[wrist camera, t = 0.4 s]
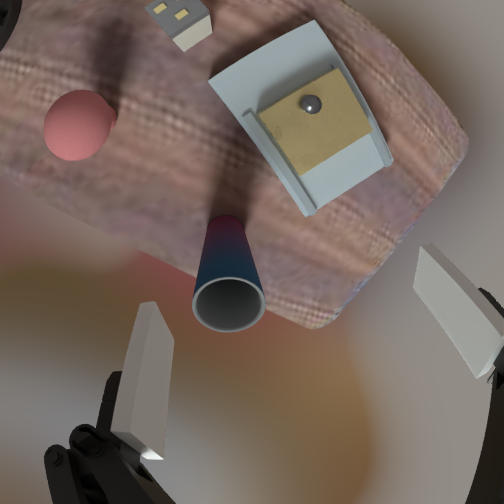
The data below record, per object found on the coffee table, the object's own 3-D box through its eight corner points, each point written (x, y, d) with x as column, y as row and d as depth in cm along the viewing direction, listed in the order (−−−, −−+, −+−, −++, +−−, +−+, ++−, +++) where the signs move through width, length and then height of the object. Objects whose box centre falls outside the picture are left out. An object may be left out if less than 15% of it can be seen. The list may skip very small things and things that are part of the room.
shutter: (255, 113, 29) (259, 115, 26) (330, 69, 27) (342, 67, 24) (294, 170, 33) (302, 179, 30) (363, 127, 30) (378, 132, 27)
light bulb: (124, 79, 28) (81, 76, 17) (140, 131, 31) (105, 151, 21) (76, 102, 28) (22, 113, 18) (92, 152, 32) (45, 180, 21)
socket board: (208, 82, 29) (207, 80, 26) (307, 24, 26) (316, 18, 23) (299, 208, 39) (306, 219, 36) (382, 154, 36) (396, 161, 32)
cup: (261, 229, 40) (281, 301, 27) (228, 262, 42) (234, 341, 29) (221, 199, 37) (222, 263, 24) (190, 236, 39) (177, 311, 26)
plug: (164, 29, 25) (143, 7, 16) (193, 10, 24) (182, -19, 15) (183, 51, 27) (168, 36, 18) (212, 32, 26) (208, 9, 17)
